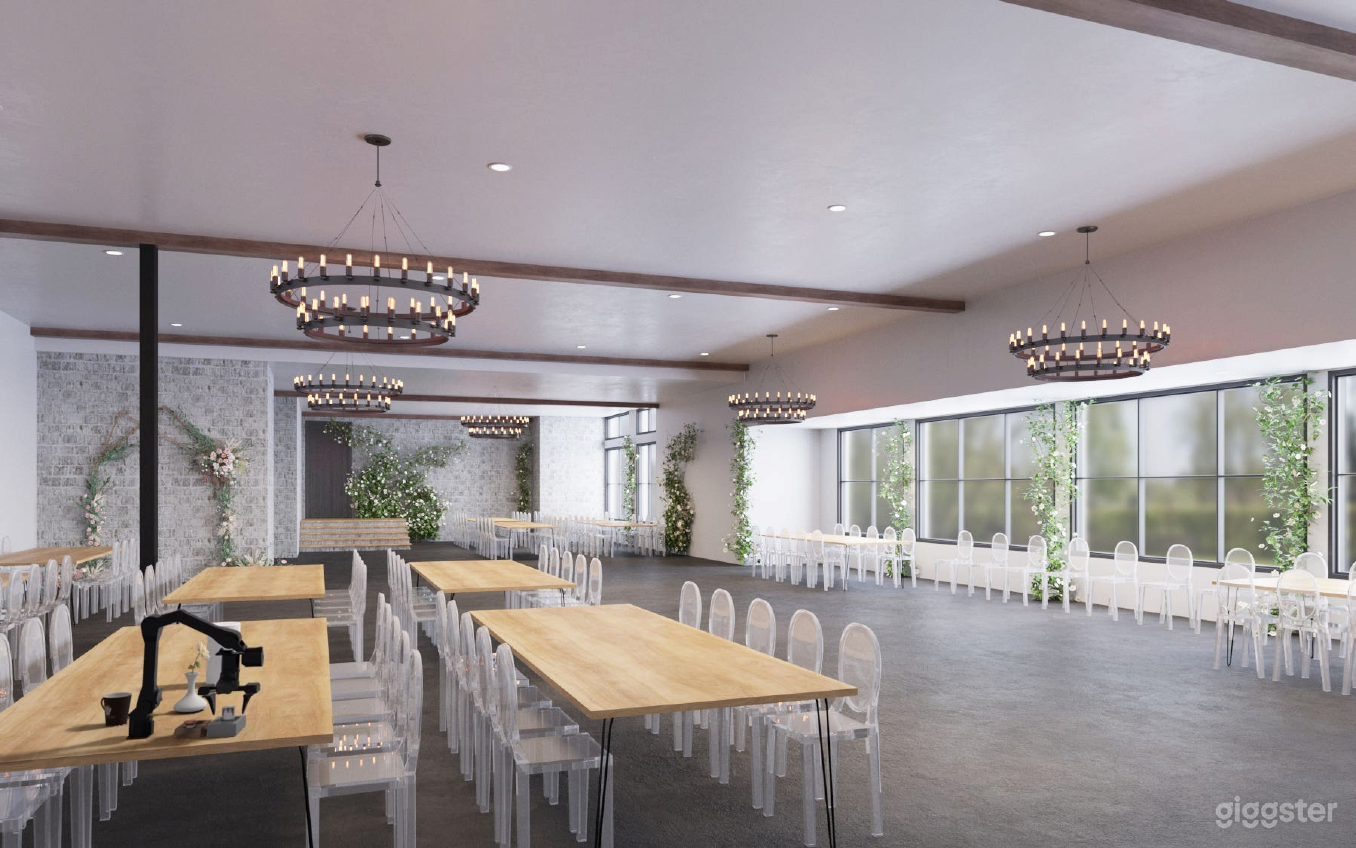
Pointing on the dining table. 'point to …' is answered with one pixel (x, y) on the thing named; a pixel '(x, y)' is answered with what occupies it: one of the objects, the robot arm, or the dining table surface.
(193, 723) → the pin
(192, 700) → the flower in vase
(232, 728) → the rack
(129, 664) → the dining table surface
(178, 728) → the socket block
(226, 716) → the peg
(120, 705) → the coffee mug
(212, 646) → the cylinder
